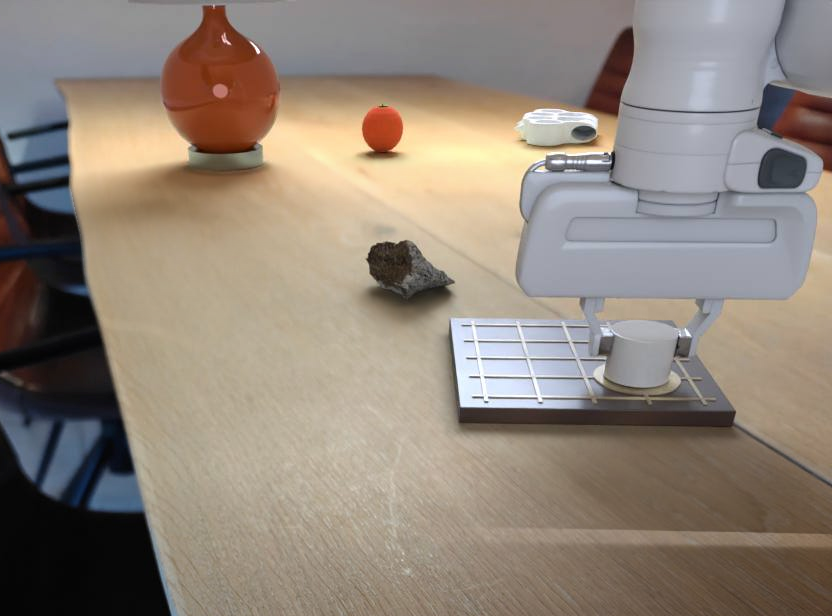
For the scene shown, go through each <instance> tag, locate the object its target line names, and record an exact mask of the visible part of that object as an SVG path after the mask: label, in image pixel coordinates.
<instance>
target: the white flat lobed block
mask: <svg viewBox="0 0 832 616" xmlns="http://www.w3.org/2000/svg"><path fill="white" fill-rule="evenodd" d="M516 125H517V126H515V127H514V128H513V129H514V130H515V131H517V132H519V133H520V138H521V140H522V141H526V144H527V145H530V146H531V145H532V146H538V147H539V146H540V147H553V146H554V147H555V146H559V145H564V144H577V145H578V144H586V143H589V142H591V141H593V140H594V139H596V138H597V136H598V130H599V129H598V127H599V118H597V117H596V116H595V115H594V114H591V113H586V112H577V111H576V112H575V111H568V110H564V109H559V108H557V109H556V108H540V109H535V110H534V111H531V112H527V113H525V114H523V117H522V120H520V121H518V122H516Z"/></svg>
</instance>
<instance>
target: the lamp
mask: <svg viewBox="0 0 832 616" xmlns="http://www.w3.org/2000/svg"><path fill="white" fill-rule="evenodd" d="M295 1H296V0H128V1H127V2H128V3H129V4H133V5H134V4H135V5H149V6H150V5H151V6H201V9H202V17H201V18H202V19H201V22H200V23H199V25H198V27H197V28H196V29H195V30H194V31H192V33H190V34H188V35H187V36H186V37H184V38H183V39H181V40H180V41H179V42H178V43H177V44H176V45H175V46H174V47H173V48H172V49H171V51H170V52H169V53H168V54H167V57H166V58H165V60H164V62H163V66H162V68H161V72H160V78H159V95H160V101H161V104H162V108H163V110H164V113H165V115H166V117H167V120H168V121H169V123H170V125H171V127H172V128H173V129H174V130H175V132H176V133H177V134H178V135H179V136H180V137H181V138H182V139H183V140H184V141H186V142H187V143H188V144H189V146H188V147H187V153H188V162H189V163H188V164H189V166H190V167H191V168H193V169H198V170H203V171H239V170H247V169H253V168H256V167H257V168H258V167H259V166H262V165H263V164H264V150H263V149H264V147H263V145H262V144H261V142H262V140H264V139H265V137H266V136H268V134H269V133H270V131H271V130H272V129H273V127H274V125H275V122H276V121H277V118H278V114H279V110H280V107H281V98H282V92H281V82H280V77H279V74H278V71H277V69H276V68H277V67H276V66H275V64H274V62H273V60H272V58H271V57H270V55H269V54H268V53H267V51H266V50H265V49H264V48H263V47H262V46H260V45H259V44H258V43H257V42H256V41H255V40H253V39H252V38H250V37H248V36H247V35H245V34H244V33H242V32H240V31H239V30H238V29H236V28H235V27H234V26H233V25H232V23H231V22H230V21H229V19H228V15H227V7H226V6H236V5H237V6H238V5H259V4H260V5H262V4H263V5H265V4H278V3H288V2H295Z"/></svg>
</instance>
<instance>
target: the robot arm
mask: <svg viewBox="0 0 832 616" xmlns="http://www.w3.org/2000/svg"><path fill="white" fill-rule="evenodd" d="M632 34H633V55H632V56H633V57H632V63H631V67H630V70H629V74H628V76H627V79H626V81H625V84H624V85H623V89H622V91H621V96H620V101H619V108H618V115H617V120H616V126H615V134H614V140H613V146H612V151H610V152H608V151H605V152H604V151H603V152H582V153H567V152H561V151H559V152H558V151H556V152H549V153H547V154H546V155H545V158H542V159H540V160H537V161H536V162H534V163H532V164H531V165H530V166H529V167H528V168H527V169H526V171H525V173H524V174H523V177H522V179H521V183H520V194H519V201H518V203H519V204H518V207H519V212H520V214H521V217H522V219H523V220H524V221H523V226H522V230H521V236H520V240H519V244H518V249H517V254H516V261H515V269H514V273H515V275H514V276H515V280H516V283H517V285H518V287H519V288H520V289H521V291H522V292H523V294H524V295H525V296H526V297H528V298H562V299H563V298H566V299H571V298H573V299H577V298H578V299H579V302H578V303H579V306H580V309H581V311H582V314H583V316H584V318H585V319H584V320H586V321H587V323H588V326H589V328H590V334H589V341H588V353H589V355H590V356H591V357H609V356H610V354H611V348H610V346H611V345H612V343H613V337H614V335H613V333H612V332H611V329H610V328H607V327H600V326H599V323H598V321H597V320H598V318H597V316H596V314H595V313H602V312H603V310H604V305H605V299H649V300H650V299H653V300H656V299H659V300H661V299H662V300H665V299H666V300H694V301H695V302H694V304H695V306H696V307H697V308H698V310H697V312H696V313H695V314H694V316H692V318H691V319H690V321H689V322H688V324H686V326H685V327H684V328H683V327H681V328H680V327H677V328H675V329H676V330H677V331H678V333H679V337H678V341H677V346H676V350H675V355H674V358H694V356H695V354H696V355H697V350H698V345H699V341H700V337H703V335H704V334H705V333H706V332H707V331H708V329H709V328H710V327H711V326H712V325H713V323H715V322H716V321H717V319H718V318H719V317H720V316H721V314H722V311H723V307H724V302H725V300H734V301H735V300H743V301H744V300H746V301H747V300H749V301H754V300H756V301H785V300H789V299H790V298H791V297H793V296H794V295H795V294H796V293H797V292H798V291H799V290H800V289H801V288H802V287H803V285H804V284H805V281H806V278H807V274H808V272H809V271H808V270H809V267H810V262H811V259H812V254H813V250H814V244H815V239H816V234H817V233H816V232H817V225H818V208H817V204H816V202H815V199H814V198H813V197H812V196H811V195H810V194H809V193H807V192H810V191H812V190H814V189H815V188H816V187H817V185H818V184H819V182H820V179H821V177H822V174H823V170H824V161H823V159H822V158H821V157H820V156H819V155H818V153H817V154H816V153H815V152H814V151H812V150H811V149H809V148H807V147H806V146H804V145H802V144H800V143H797V142H795V141H793V140H790V139H787V138H784V137H783V135H781V134H780V133H778V132H776V131H774V130H773V129H768V128H766V127H763V128H762V129H760V128H759V126H758V124H757V123H758V119H759V115H760V111H761V106H762V103H763V95H764V90H765V88H766V86H767V85H768V84H769V85H772V86H776V87H780V88H784V89H790V90H795V91H799V92H801V93H803V94H804V93H805V94H807V95H811V96H817V97H824V98H828V99H832V0H635V3H634V8H633V15H632ZM541 167H544V169H540V168H541Z"/></svg>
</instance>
